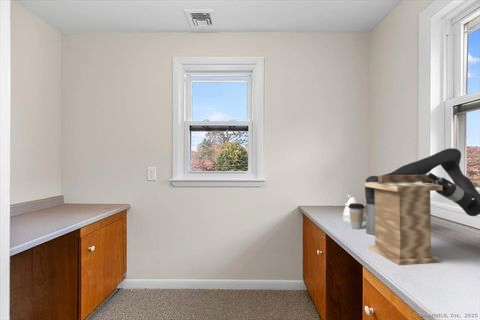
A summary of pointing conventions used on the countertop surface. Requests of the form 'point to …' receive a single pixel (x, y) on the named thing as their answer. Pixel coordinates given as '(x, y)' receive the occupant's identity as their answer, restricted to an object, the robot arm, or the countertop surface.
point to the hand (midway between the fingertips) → (422, 174)
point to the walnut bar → (404, 178)
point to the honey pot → (346, 210)
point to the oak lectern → (403, 221)
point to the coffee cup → (356, 215)
